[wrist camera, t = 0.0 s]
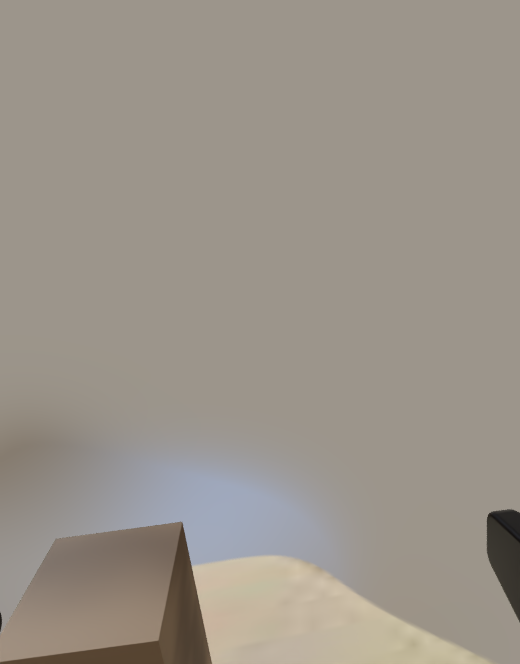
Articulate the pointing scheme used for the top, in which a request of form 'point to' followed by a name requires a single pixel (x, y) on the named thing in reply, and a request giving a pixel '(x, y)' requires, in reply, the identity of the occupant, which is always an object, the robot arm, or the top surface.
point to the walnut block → (110, 603)
